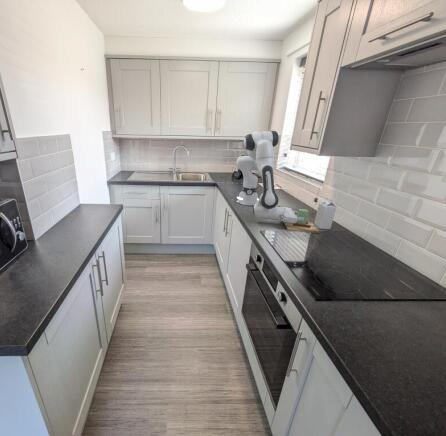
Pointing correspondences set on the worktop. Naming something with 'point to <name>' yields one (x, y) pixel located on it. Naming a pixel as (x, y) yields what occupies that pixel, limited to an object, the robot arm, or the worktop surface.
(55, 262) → the worktop surface
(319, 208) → the milk carton
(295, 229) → the base pad
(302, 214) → the back pad
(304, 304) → the worktop surface
